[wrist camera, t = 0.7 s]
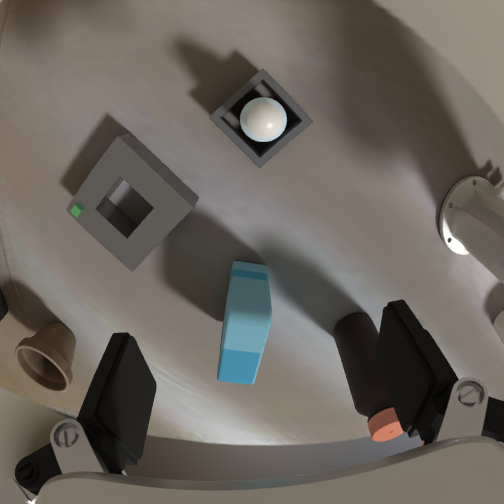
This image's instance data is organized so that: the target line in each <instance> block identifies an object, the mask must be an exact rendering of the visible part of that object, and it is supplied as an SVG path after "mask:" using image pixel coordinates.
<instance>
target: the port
mask: <svg viewBox="0 0 504 504" xmlns="http://www.w3.org/2000/svg"><path fill="white" fill-rule="evenodd" d="M123 180H125V181H126V182H127V183H128V184H129V185H130V186H131V187H132V188H133V189H135V190H136V191H137V192H138V193H139V194H140V195H141V196H142V197H143V198H144V199H145V200H146V201H147V202H148V203H149V204H151V205H152V206H153V207H154V209H153V210H152V211H151V212H150V213H149V214H148V215H147V217H146V218H145V219H144V220H143V221H142V222H141V223H140V225H139V226H137V225H136V224H134V223H133V222H132V221H131V220H130V219H129V218H128V217H127V216H126V215H125V214H124V213H123V212H122V211H120V210H119V209H118V208H117V207H116V206H115V205H114V204H113V203H112V202H111V201H110V200H109V198H110V196H111V195H112V194H113V192H114V191H115V190H116V189H117V187H118V186H119V185H120V183H121V182H122V181H123ZM198 199H199V197H198V196H197V195H196V194H195V193H194V192H193V191H192V190H191V189H190V188H188V187H187V186H186V185H185V184H184V183H183V182H182V181H181V180H180V179H179V178H178V177H177V176H176V175H175V174H174V173H173V172H172V171H171V170H170V169H168V168H167V167H166V166H165V165H164V164H163V163H162V162H161V161H160V160H159V159H158V158H157V157H156V156H155V155H154V154H153V153H152V152H151V151H150V150H148V149H147V148H146V147H145V146H144V145H143V144H142V143H141V142H140V141H139V140H138V139H137V138H136V137H135V136H134V135H133V134H132V133H127V134H123V135H119V136H117V137H116V139H115V140H114V141H113V143H112V144H111V145H110V146H109V148H108V149H107V150H106V152H105V153H104V154H103V156H102V157H101V158H100V160H99V161H98V163H97V164H96V165H95V167H94V168H93V170H92V171H91V172H90V174H89V175H88V177H87V178H86V180H85V181H84V183H83V184H82V185H81V187H80V188H79V190H78V192H77V193H76V195H75V196H74V198H73V199H72V201H71V202H70V204H69V206H68V207H67V209H66V211H67V212H68V213H69V214H70V215H71V216H72V217H73V218H74V219H75V220H76V221H77V222H78V223H79V224H80V225H81V226H82V227H84V228H85V229H86V230H87V231H88V232H89V233H90V234H91V235H92V236H93V237H94V238H95V239H96V240H97V241H98V242H100V243H101V244H102V245H103V246H104V247H105V248H106V249H107V250H108V251H109V252H110V253H112V254H113V255H114V256H115V257H116V258H117V259H118V260H119V261H121V262H122V263H123V264H124V265H125V266H126V267H127V268H129V269H130V270H131V271H132V272H133V271H134V270H135V269H136V268H137V267H138V266H139V264H140V263H141V262H142V261H143V260H144V259H145V258H146V257H147V256H148V255H149V254H150V253H151V251H152V250H153V249H154V248H155V247H156V246H157V245H158V244H159V243H160V242H161V241H162V240H163V239H164V238H165V237H166V236H167V235H168V234H169V233H170V232H171V230H172V229H173V228H174V227H175V226H176V225H177V224H178V223H179V222H180V221H181V220H182V219H183V218H184V217H185V216H186V215H187V214H188V213H189V212H190V211H191V210H192V209H193V208H194V206H195V205H196V203H197V201H198Z"/></svg>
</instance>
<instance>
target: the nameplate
mask: <svg viewBox="0 0 504 504" xmlns="http://www.w3.org/2000/svg"><path fill="white" fill-rule="evenodd" d="M7 312H8V307H7V304H6V301H5V298H4V296H3V293H2V290H1V287H0V321H1V320H2V319H3V318H4V316H5V315H6V314H7Z"/></svg>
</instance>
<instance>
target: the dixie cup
mask: <svg viewBox="0 0 504 504" xmlns="http://www.w3.org/2000/svg"><path fill="white" fill-rule="evenodd" d="M493 326H494V329H495V330H496V332H497V334H498V335H499V337H500V339H501V341H502V342H503V344H504V310H502V311H501V312H500V313H499V314H498V316H497V317H496V319H495V321H494V324H493Z"/></svg>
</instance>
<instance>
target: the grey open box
mask: <svg viewBox="0 0 504 504" xmlns="http://www.w3.org/2000/svg"><path fill="white" fill-rule="evenodd" d="M261 82H262V83H263V84H264V85H265V86H266V87H267V88H268V89H269V90H270V92H271V93H272V94H273V95H274V96H275V97H276V98H277V99H278V100H279V101H280V102H281V103H282V104H283V105H284V106H285V107H286V108H287V109H288V110H289V111H290V112H291V114H292V115H293V116H294V117H295V118H296V119H297V120H296V121H295V122H293V123H292V124H291V125H290V126H289V127H288V128H286V129H285V130H284V131H283V132H282V134H281V135H280V136H279V137H277V138H276V139H274V140H273V141H272V142H270V143H269V144H268V145H267V146H266V147H265V148H264V149H263V150H261V151H260V152H258V151H257V150H256V149H255V148H254V147H253V146H252V145H251V144H250V143H249V142H248V141H247V140H246V139H245V138H244V137H243V136H242V135H241V134H240V133H239V132H238V131H237V130H236V129H235V128H234V127H233V126H232V125H231V124H230V123H229V122H228V121H227V120H226V119H225V118H224V117H223V116H224V115H225V114H226V113H227V112H229V111H230V110H231V109H232V108H233V107H234V106H235V105H236V104H237V103H238V102H239V101H241V100H242V99H243V98H244V97H245V96H246V95H247V94H248V93H250V92H251V91H252V90H253V89H254V88H255V87H256V86H258V85H259V84H260V83H261ZM209 119H210V120H211V121H213V122H214V123H215V124H216V125H217V126H218V127H219V128H220V129H221V130H222V131H223V132H224V133H225V134H226V135H227V136H228V137H229V138H230V139H231V140H232V141H233V142H234V143H235V144H236V145H237V146H238V147H239V148H240V149H241V150H242V151H243V152H244V153H245V154H246V155H247V156H248V157H249V158H250V159H251V160H252V161H253V162H254V163H255V164H256V165H257V166H258V167H259V168H261V167H262V166H263V165H264V164H265V163H266V162H267V161H268V160H270V159H271V158H272V157H273V156H274V155H275V154H276V153H278V152H279V151H280V150H281V149H282V148H283V147H284V146H286V145H287V144H288V143H289V142H290V141H291V140H292V139H294V138H295V137H296V136H297V135H298V134H299V133H301V132H302V131H303V130H304V129H305V128H306V127H308V126H309V125H310V124H311V123H312V122H313V121H312V119H311V118H310V117H309V116H308V115H307V114H306V113H305V112H304V110H303V109H302V108H301V107H300V106H299V105H298V104H297V103H296V102H295V101H294V100H293V99H292V97H291V96H290V95H289V94H288V93H287V92H286V91H285V90H284V89H283V88H282V87H281V86H280V85H279V84H278V83H277V82H276V81H275V80H274V79H273V78H272V77H271V76H270V75H269V74H268V73H267V72H266V71H265V70H264V69H262V70H261V71H260V72H258V73H257V74H256V75H255V76H254V77H252V78H251V79H250V80H249V81H248V82H247V83H246V84H244V85H243V86H242V87H241V88H240V89H239V90H238V91H237V92H235V93H234V94H233V95H232V96H231V97H230V98H229V99H228V100H227V101H226V102H224V103H223V104H222V105H221V106H220V107H219V108H218V109H217V110H216V111H215V112H214V113H213V114H212V115H211V116H210V117H209Z"/></svg>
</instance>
